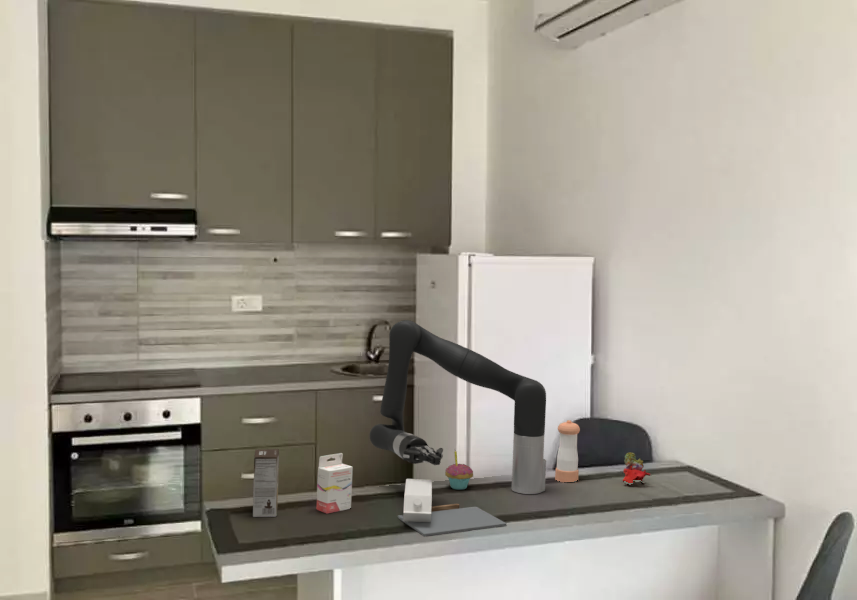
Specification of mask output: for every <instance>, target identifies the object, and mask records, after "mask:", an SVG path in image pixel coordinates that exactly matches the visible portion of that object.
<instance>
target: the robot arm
mask: <svg viewBox="0 0 857 600" xmlns="http://www.w3.org/2000/svg"><path fill="white" fill-rule="evenodd" d="M388 335H389V338H388V339H389V345H388V348H389V350H388V351H389V353H388V363H387V373H386V378H385V384H384V387H383V394H382V398H381V399H382V400H381V404H380V412H379V413H380V415H382V417H385V418H387V419H391V424H387V423H384V424H382V423H377V424H375V425H374V426H372V428H370V432H369V440H370V443H371V444H372V445H373V446H374V447H375V448H378V449H379V450H385V451H389V452H391V453H393V454H394V455H395V454H396V455H397V456H398V457H399V458H401V459H402V460H403V461H406V462H408V463H410V464H414V465H417V464H423V463H426V464H431V465H433V466H439V465H440V464H441V460H442V459H443V457H444V448H443V447H439V448H436V450H435V449H434V448H433V447H429V444H428V443H427V441H426V440H424V439H423V438H421V437H419V436H418V435H415V434H413V433H409V432H407V431H405V426H404V409H405V404H406V403H405V402H406V399H407V398H406V397H407V391H408V389H407V387H408V376H409V375H408V374H409V373H408V372H409V366H410V362H411V358H412V355H413V352H414V353H415V354H419V355H420V356H424V357H425V358H428V359H430V360H431V361H432V362H434V363H435V364H437V365H438V366H440V368H442V369H443V370H445V371H446V372H448V373H449V374H451V375H453V376H455V377H457V378H458V379H461V380H462V381H465V382H466V383H470V384H471V385H475V386H478V387H482V388H485V389H489V390H493V391H496V392H499V393H501V394H502V395H505V396H506V397H507V398H510V399H511V400H513V401H514V404H513V405H514V407H513V408H514V410H513V411H514V412H513V440H512V441H513V442H512V444H513V445H512V446H513V447H512V466H511V467H512V468H511V470H512V471H511V490H512V491H513V492H515V493H517V494H518V493H519V494H524V495H537V494H540V493H542V492H546V474H547V473H546V472H547V470H546V469H547V459H545V458H544V456H545V455H544V454H545V453H544V452H545V433H546V432H545V431H546V414H547V413H546V409H547V391H546V389H545V386H544V385H543V384H542V383H541V382H540V381H538V380H535V379H533V378H530V377H526V376H524V375H522V374H520V373H519V374H518V373H516V372H513V371H511V370H509V369H506V368H505V367H503V366H501V364H498V363H497V362H495V361H493V360H491V359H490V358H487V357H486V356H484V355H482V354H480V353H478V352H476V351H474V350H472V349H469V348H467V347H465V346H463V345H461V344H458V343H456V342H453V341H450V340H448V339H445V338H441V337H440V336H437V335H436V334H434V333H432V332H431V331H429V330H428V329H426V328H425V327H422V326H421V325H420V324H418V323H416V322H414V321H413V320H409V319H407V320H406V319H405V320H401V321H398V322H396V323H394V324H393V325H392V326H391V328H390V331H389V334H388Z"/></svg>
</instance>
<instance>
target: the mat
mask: <svg viewBox="0 0 857 600" xmlns="http://www.w3.org/2000/svg"><path fill="white" fill-rule="evenodd" d="M397 519H399V520H400V521H401V522H403V523H405V525H407V526H409V527H410V528H412V529H413V530H414V531H416V532H417V533H418V534H420V535H422V536H423V537H429V536H438V535H445V534H452V533H454V534H455V533H459V532H460V533H461V532H468V531H476V530H477V531H478V530H484V529H493V528H499V527H506V526H507V525H508V524H507V522H505V521H503V520H502V519H499V518H498V517H496V516H494V515H493V514H491V513H489V512H487V511H485V510H483V509H481V508H480V507H478V506H470V507H469V506H468V507H462V508H461V507H459V509H450V510H442V511H433V512H431V522H407V521H403V514H401V515H400V514H399V515H397Z"/></svg>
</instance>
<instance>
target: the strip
mask: <svg viewBox="0 0 857 600" xmlns="http://www.w3.org/2000/svg"><path fill="white" fill-rule="evenodd" d="M459 508H460V504H459V503H451V504H443V505H434V506H431V512H433V511H442V510H450V509H459Z"/></svg>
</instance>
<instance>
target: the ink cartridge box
mask: <svg viewBox="0 0 857 600" xmlns="http://www.w3.org/2000/svg"><path fill="white" fill-rule="evenodd" d="M343 456H344V454H343V453H342V452H339V453H334V454H332V453H331V454H327V455H320V456H319V457H318V468H317V482H316V483H317V486H316V510H317V511H319V512H322V513H324V514H327V515H328V514H332V513H337V512H342V511H345V510H350V508H352V495H353V494H352V491H353V470H354V468H353V466H351V465H348V464H345V463H343ZM329 459H332V460H329ZM328 460H329V461H328Z"/></svg>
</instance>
